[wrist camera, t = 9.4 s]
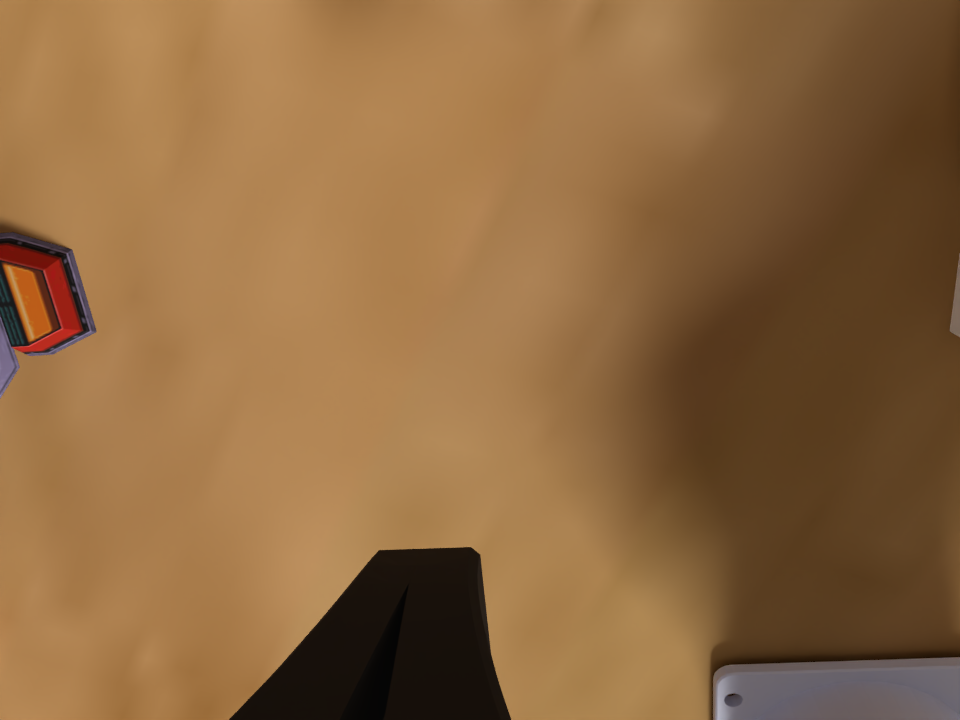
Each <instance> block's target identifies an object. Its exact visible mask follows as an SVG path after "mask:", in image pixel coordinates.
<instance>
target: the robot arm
mask: <svg viewBox="0 0 960 720" xmlns="http://www.w3.org/2000/svg"><path fill="white" fill-rule="evenodd" d="M732 693H735V695H733V696H727V695H728V694H732ZM229 720H511V718H510V715H509V712H508V709H507V706H506V703H505V700H504V697H503V694H502V691H501V688H500V685H499V681H498V678H497V675H496V671H495V668H494V664H493V660H492V656H491V650H490V641H489V632H488V623H487V614H486V604H485V595H484V586H483V577H482V568H481V558H480V554H479V553H477V552H476V551H475V550H474V549H472V548H471V547H464V548H434V549H404V550H379V551H378V552H377V553H376V554H375V555H374V556H373V557H372V559H371V560H370V561H369V562H368V563H367V565H366V566H365V567H364V568H363V569H362V570H361V572H360V573H359V574H358V575H357V577H356V578H355V579H354V580H353V581H352V583H351V584H350V585H349V586H348V588H347V589H346V590H345V591H344V592H343V594H342V595H341V596H340V597H339V598H338V600H337V601H336V602H335V603H334V604H333V606H332V607H331V608H330V609H329V610H328V612H327V613H326V614H325V615H324V616H323V618H322V619H321V620H320V621H319V622H318V624H317V625H316V626H315V627H314V628H313V629H312V630H311V632H310V633H309V634H308V635H307V636H306V637H305V638H304V639H303V641H302V642H301V643H300V644H299V645H298V646H297V647H296V649H295V650H294V651H293V652H292V653H291V654H290V655H289V657H288V658H287V659H286V660H285V661H284V662H283V663H282V665H281V666H280V667H279V668H278V669H277V670H276V671H275V672H274V673H273V674H272V675H271V677H270V678H269V679H268V680H267V681H266V682H265V683H264V684H263V685H262V686H261V687H260V688H259V689H258V690H257V691H256V692H255V693H254V694H253V695H252V696H251V697H250V698H249V699H248V701H247V702H246V703H245V704H244V705H243V706H242V707H241V708H240V709H239V710H238V711H237V712H236V713H235V714H234V715H233V716H232V717H231V718H230V719H229ZM713 720H960V657H951V658H921V659H890V660H860V661H830V662H799V663H769V664H739V665H726V666H723V667H721V668H719V669H718V670H717V671H716V672H715V674H714V677H713Z"/></svg>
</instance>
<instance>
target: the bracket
mask: <svg viewBox="0 0 960 720" xmlns="http://www.w3.org/2000/svg"><path fill="white" fill-rule="evenodd" d="M950 332H952V333H953V334H955V335H957V336H958V337H960V255H959V263H958V270H957V278H956V286H955V293H954V301H953V309H952V316H951V324H950Z"/></svg>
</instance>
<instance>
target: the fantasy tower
mask: <svg viewBox="0 0 960 720" xmlns="http://www.w3.org/2000/svg"><path fill="white" fill-rule="evenodd" d="M96 332H97V331H96V328H95V324H94V321H93V318H92V314H91V311H90V308H89V304H88V301H87V298H86V294H85V291H84V287H83V284H82V281H81V277H80V274H79V271H78V267H77V264H76V261H75V257H74V254H73V251H72V249H68V248H65V247H61V246H58V245H55V244H51V243H48V242H44V241H41V240H37V239H34V238H30V237H27V236H24V235H20V234H17V233H14V232H11V233H0V398H1V396H2V395H3V393H4V391H5V390H6V388H7V387H8V385H9V383H10V382H11V380H12V379H13V377H14V375H15V374H16V372H17V370H18V369H19V364H18V361H17V358H16V355H15V352H14V349H16V350H18V351H20V352H23V353H25V354H27V355H29V356H35V355H51V354H55V353H56V352H58V351H60V350H62V349H64V348H66V347H68V346H70V345H72V344H74V343H76V342H78V341H80V340H82V339H84V338H86V337H88V336H90V335H92V334H94V333H96ZM13 348H14V349H13Z"/></svg>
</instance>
